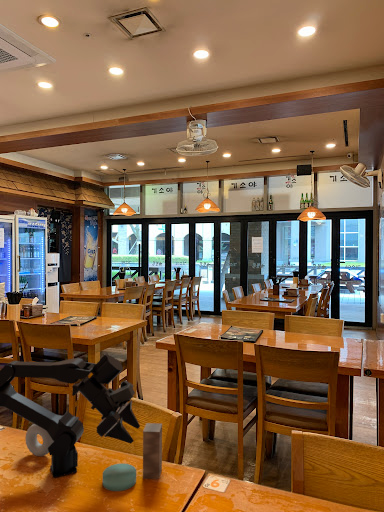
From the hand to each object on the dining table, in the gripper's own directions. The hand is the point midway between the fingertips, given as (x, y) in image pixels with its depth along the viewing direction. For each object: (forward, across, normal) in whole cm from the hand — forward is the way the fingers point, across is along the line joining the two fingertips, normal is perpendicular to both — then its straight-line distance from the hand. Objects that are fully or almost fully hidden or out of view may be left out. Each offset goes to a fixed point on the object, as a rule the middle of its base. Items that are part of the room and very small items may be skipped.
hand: (135, 434), depth 110 cm
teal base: (+5, -4, +10) cm, 12 cm away
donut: (-15, +8, +30) cm, 34 cm away
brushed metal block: (+11, 0, +4) cm, 12 cm away
